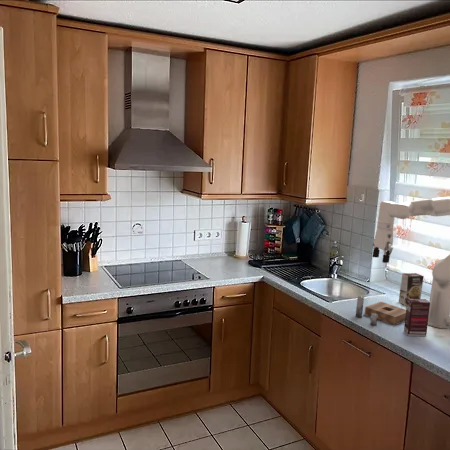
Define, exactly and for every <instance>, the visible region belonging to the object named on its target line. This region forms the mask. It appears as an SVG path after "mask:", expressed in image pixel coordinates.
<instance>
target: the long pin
mask: <svg viewBox="0 0 450 450" xmlns="http://www.w3.org/2000/svg"><path fill="white" fill-rule="evenodd" d="M364 302H365V296H364V295H363V296H362V295H357V300H356V309H355V317H356V318H363V312H364V311H363V310H364Z"/></svg>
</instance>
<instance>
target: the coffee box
mask: <svg viewBox="0 0 450 450" xmlns="http://www.w3.org/2000/svg"><path fill="white" fill-rule="evenodd" d="M424 278H425V277H424V275H422V274H419V273H416V272H411V273H410V272H409V273H407V272H406V273H402V274H401V279H400V280H401V282H400V289H399V295H398V296H399V297H398V303H401V304H402V305H404V306H405V307H407V299H422V298H421V297H422V291H423V283H424Z"/></svg>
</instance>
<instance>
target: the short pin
mask: <svg viewBox="0 0 450 450" xmlns="http://www.w3.org/2000/svg"><path fill="white" fill-rule="evenodd" d="M378 320H379V319H378V314H375V313H372V314H371V317H370V322H369V324H370V326H372V327H376V326H377V325H378Z"/></svg>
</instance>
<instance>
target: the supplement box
mask: <svg viewBox="0 0 450 450" xmlns="http://www.w3.org/2000/svg"><path fill="white" fill-rule="evenodd" d="M429 301H430V300H427V298H426V299H425V298H421V299H407V306H406V309H405V310H406V316H405V321H404V326H403V333H404V334H405V335H406V336H407V337H427V331H428V326H429V325H428V317H429V308H430V302H429Z"/></svg>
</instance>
